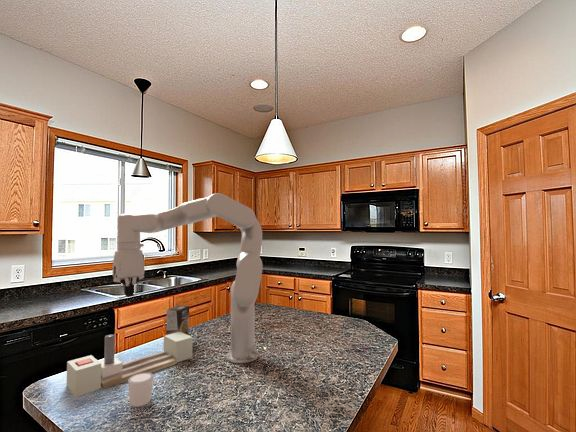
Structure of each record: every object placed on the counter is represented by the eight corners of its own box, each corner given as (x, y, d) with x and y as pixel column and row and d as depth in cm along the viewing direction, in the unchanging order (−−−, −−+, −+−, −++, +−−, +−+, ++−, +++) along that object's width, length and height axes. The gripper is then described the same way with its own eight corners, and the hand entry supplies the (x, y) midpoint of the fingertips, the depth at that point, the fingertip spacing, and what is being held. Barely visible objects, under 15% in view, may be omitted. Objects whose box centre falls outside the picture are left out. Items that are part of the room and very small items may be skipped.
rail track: (176, 364, 119) (176, 357, 119) (103, 389, 100) (103, 381, 100) (161, 355, 127) (161, 349, 127) (91, 377, 108) (91, 369, 108)
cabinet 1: (100, 388, 100) (101, 363, 101) (75, 397, 95) (75, 370, 96) (90, 378, 107) (91, 355, 107) (66, 386, 102) (67, 361, 102)
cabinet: (192, 357, 125) (192, 337, 125) (176, 362, 120) (176, 341, 120) (179, 350, 132) (179, 331, 132) (163, 355, 126) (163, 335, 127)
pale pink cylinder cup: (133, 395, 96) (133, 372, 97) (156, 394, 97) (156, 371, 97) (123, 408, 89) (124, 383, 90) (148, 407, 90) (148, 382, 90)
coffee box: (178, 348, 134) (179, 310, 135) (165, 347, 136) (165, 309, 136) (189, 340, 143) (189, 305, 144) (176, 339, 145) (177, 304, 145)
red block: (91, 374, 101) (92, 361, 102) (78, 378, 99) (79, 364, 99) (88, 370, 104) (88, 358, 104) (75, 374, 101) (76, 361, 101)
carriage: (122, 371, 107) (123, 336, 107) (102, 377, 102) (103, 340, 103) (114, 365, 111) (115, 331, 112) (95, 371, 107) (96, 335, 107)
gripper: (144, 245, 125) (144, 291, 124) (103, 247, 114) (103, 298, 113) (153, 245, 120) (153, 293, 119) (111, 248, 109) (111, 301, 108)
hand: (129, 295), depth 116 cm, fingers closed
